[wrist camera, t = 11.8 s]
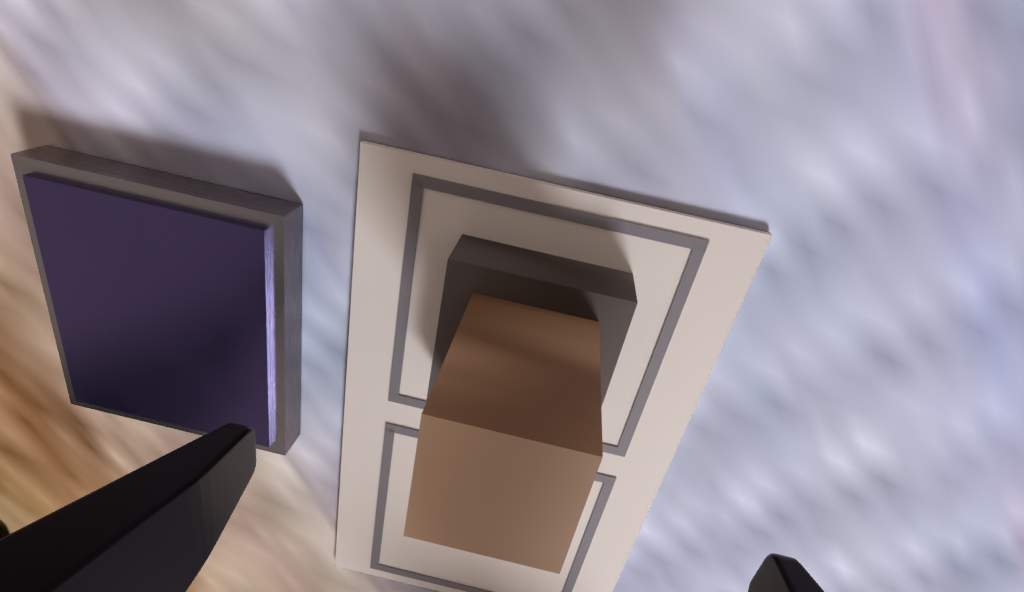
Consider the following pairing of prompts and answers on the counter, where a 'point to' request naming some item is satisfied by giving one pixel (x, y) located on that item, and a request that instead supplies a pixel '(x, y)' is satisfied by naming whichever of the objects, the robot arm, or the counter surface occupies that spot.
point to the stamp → (516, 401)
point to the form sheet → (412, 333)
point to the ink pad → (169, 293)
